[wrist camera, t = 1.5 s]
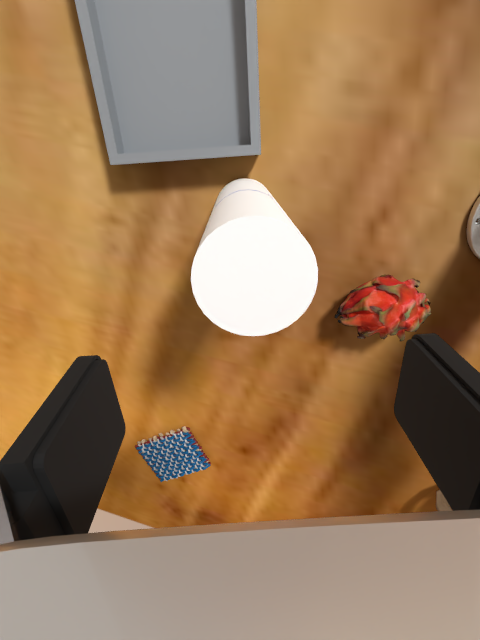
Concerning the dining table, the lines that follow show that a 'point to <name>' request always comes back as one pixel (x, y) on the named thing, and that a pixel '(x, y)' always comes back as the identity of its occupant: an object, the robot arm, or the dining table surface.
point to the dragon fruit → (385, 307)
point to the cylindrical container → (252, 263)
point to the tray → (174, 77)
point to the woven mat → (173, 454)
